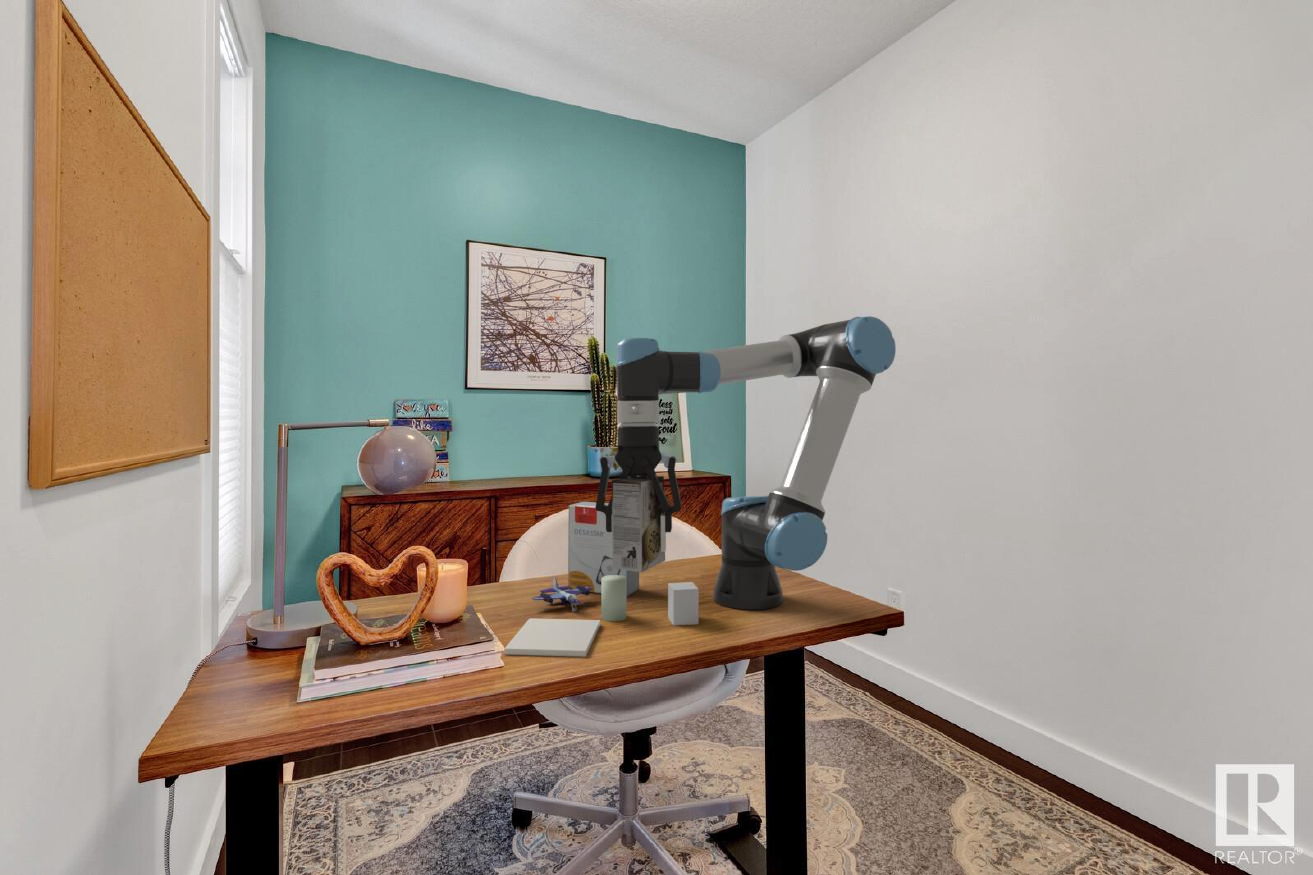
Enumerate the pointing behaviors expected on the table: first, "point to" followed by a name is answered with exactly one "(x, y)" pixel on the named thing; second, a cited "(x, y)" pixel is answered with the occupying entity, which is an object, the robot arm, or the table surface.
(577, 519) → the hard drive box
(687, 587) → the grey block
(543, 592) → the toy airplane
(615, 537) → the grey product box
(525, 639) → the tile
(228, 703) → the table surface
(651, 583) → the table surface
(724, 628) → the table surface
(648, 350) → the robot arm
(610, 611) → the sage cylinder
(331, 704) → the table surface
